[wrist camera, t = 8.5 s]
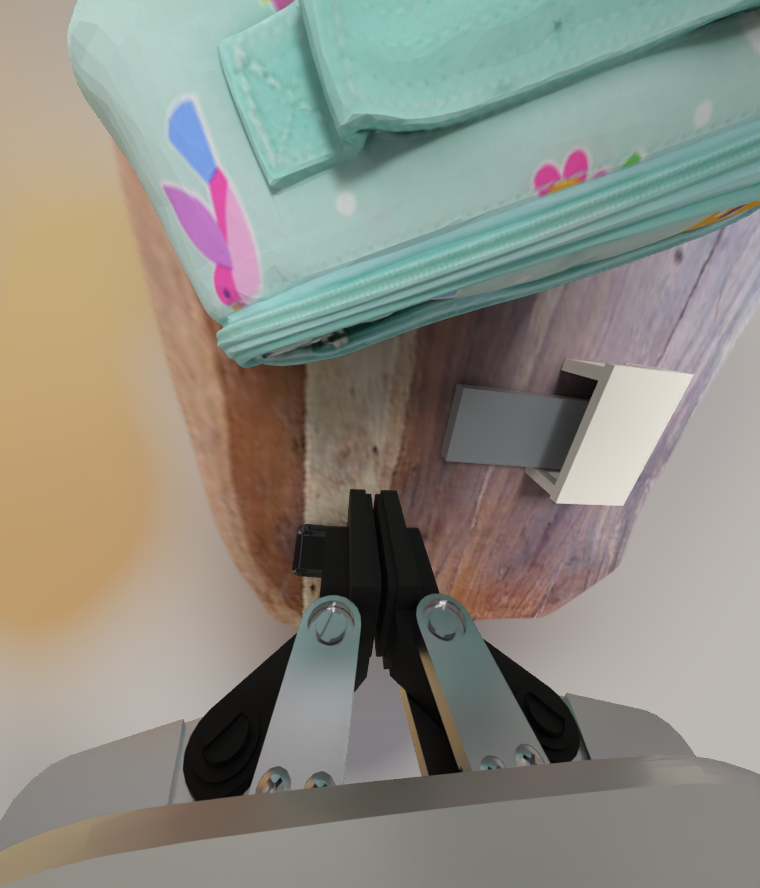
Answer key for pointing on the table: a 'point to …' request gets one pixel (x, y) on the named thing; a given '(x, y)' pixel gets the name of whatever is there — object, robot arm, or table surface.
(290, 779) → the robot arm
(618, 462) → the white hollow box
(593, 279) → the table surface
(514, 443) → the slate board
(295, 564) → the phone
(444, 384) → the table surface
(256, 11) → the lunch box
